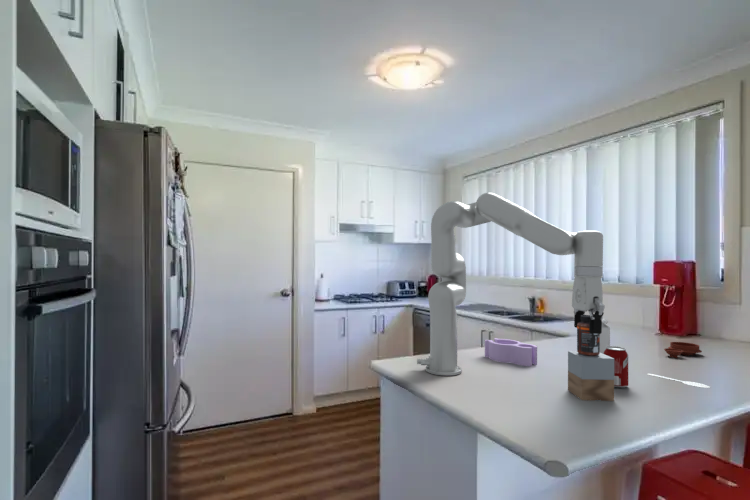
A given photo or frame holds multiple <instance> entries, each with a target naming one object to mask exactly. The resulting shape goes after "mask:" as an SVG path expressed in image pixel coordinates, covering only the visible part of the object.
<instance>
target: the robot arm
mask: <svg viewBox="0 0 750 500" xmlns="http://www.w3.org/2000/svg"><path fill="white" fill-rule="evenodd" d="M490 222H492V223H494V224H496V225H497V226H500V227H502V228H503V229H505V230H507V231H508V232H511V233H513V234H514V235H516V236H518V237H520V238H522V239H524V240H526V241H528V242H530V243H532V244H534V245H535V246H537V247H539V248H541V249H543V250H544V251H546V252H547V253H549V254H553V255H556V256H569V255H574V258H573V259H574V260H573V261H574V262H573V263H574V264H573V265H574V267H573V275H574V276H573V277H574V280H573V285H572V297H571V299H572V300H571V307H572V308H573V310H574V311H573V314H574V315H573V316H574V317H573V318H574V320H573V321H574V322H573V325H574V328H576V329H577V324H578V323H579V322H581V315H586V314H585V313H586V312H588V315H590V317H591V319H589V333H591V334H601V333H602V319H603V318H604V317H603V316H604V313H605V312H604V311H605V305H604V300H603V297H604V295H603V283H602V279H603V277H604V276H603V274H604V273H603V272H604V271H603V270H604V269H603V268H604V267H603V266H604V265H603V264H604V235H603V233H602V232H601V231H598V230H583V231H582V230H581V231H577V232H571V231H566V230H564V229H562V228H559V227H558V226H556V225H554V224H551V223H550V222H547V221H545V220H544V219H542V218H540V217H538V216H536V215H535V214H534V213H532V212H531V211H529V210H528V209H526V208H524V207H522V206H521V205H520V206H519V205H518V204H516V203H514V202H512V201H510V200H509V199H506V198H504V197H503V196H500V195H498V194H496V193H495V192H494V193H493V192H484V193H482V194H480V195H479V196H478V198H477V200H476V201H474V202H472V203H468V204H465V203H463V202H461V201H457V200H454V201H453V200H452V201H447V202H445V203H443V204H441V205H440V206H439V207H438V208H437V209H436V210H435V211H434V213H433V215H432V218H431V223H430V231H431V232H430V237H431V238H430V239H431V247H430V249H431V250H430V251H431V252H430V253H431V257H430V258H431V259H430V260H431V263H430V264H431V271H432V272H433V274H434V275H435V276H436V277H439V278H441V281H439V282H436V283H435V284H433V285H432V286H431V288H429V291H428V294H427V295H428V297H427V299H428V306H429V308H428V309H429V320H430V323H429V326H430V327H429V328H430V330H429V336H430V338H429V339H430V344H429V345H430V346H429V351H430V352H429V355H428V358H427V357H426V358H424V359H423V358H417V359H416V365H420V366H425V371H426V372H427V373H429V374H432V375H437V376H442V377H443V376H444V377H445V376H451V377H452V376H457V375H460V374H461V373H462V372H463V371H462V369H463V368H462V367H460V366H458V315H457V306H460V305H461V304H463V303H464V301H465V299H466V295H467V273H466V272H467V271H466V269H467V267H466V262H465V259H464V257H463V255H461V254H460V253H458V252H457V251H456V235H455V231H454V230H455V227H458V228H461V229H462V228H463V229H467V228H471V227H472V228H473V227H475V226H480V225H483V224H488V223H490Z"/></svg>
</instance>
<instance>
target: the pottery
mask: <svg viewBox="0 0 750 500" xmlns="http://www.w3.org/2000/svg"><path fill="white" fill-rule="evenodd" d="M669 344H670V345H669V346H668V347H666V348H664V352H666V354H668V356H669V358H673V359H676V358H677V359H678V357H679V356H681V355H683V356H689V355H692V356H694V355H696V354H700V353H702V352H703V351H702V350H701V349H700V345H699V344H696V343H692V342H686V341H685V342H684V341H671V342H669Z"/></svg>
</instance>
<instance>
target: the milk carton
mask: <svg viewBox="0 0 750 500" xmlns="http://www.w3.org/2000/svg"><path fill="white" fill-rule="evenodd" d="M608 323H609V321H607V320H606V319H605V318H604V317H603V319H602V333H601V334H600V353H602V354H604V351H605V350H606V346H611V328H610V326H608V325H607V324H608Z"/></svg>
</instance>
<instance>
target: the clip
mask: <svg viewBox="0 0 750 500" xmlns="http://www.w3.org/2000/svg"><path fill="white" fill-rule="evenodd" d="M484 357H485V358H489V359H490V360H492V361H494V362H499V363H508V364H509V363H510V364H515V365H518V366H522V367H523V366H524V367H533V365H536V366H537V365H538V346H537V345H535V344H531V343H525V342H522V341H518V340H514V339H509V338H497V337H494V338H493V340H492V339H485V340H484ZM532 364H533V365H532Z"/></svg>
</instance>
